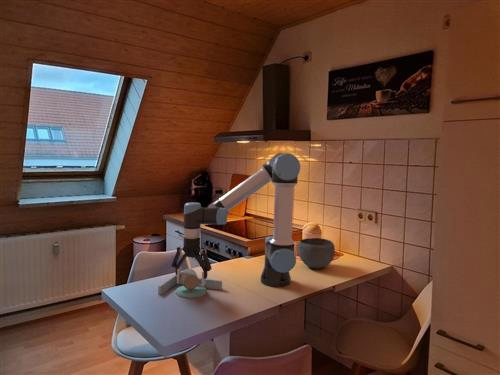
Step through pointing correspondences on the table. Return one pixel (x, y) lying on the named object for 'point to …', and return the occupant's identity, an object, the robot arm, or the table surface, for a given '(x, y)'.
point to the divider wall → (209, 283)
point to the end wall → (166, 285)
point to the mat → (191, 292)
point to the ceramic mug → (190, 279)
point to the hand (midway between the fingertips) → (191, 283)
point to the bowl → (316, 252)
